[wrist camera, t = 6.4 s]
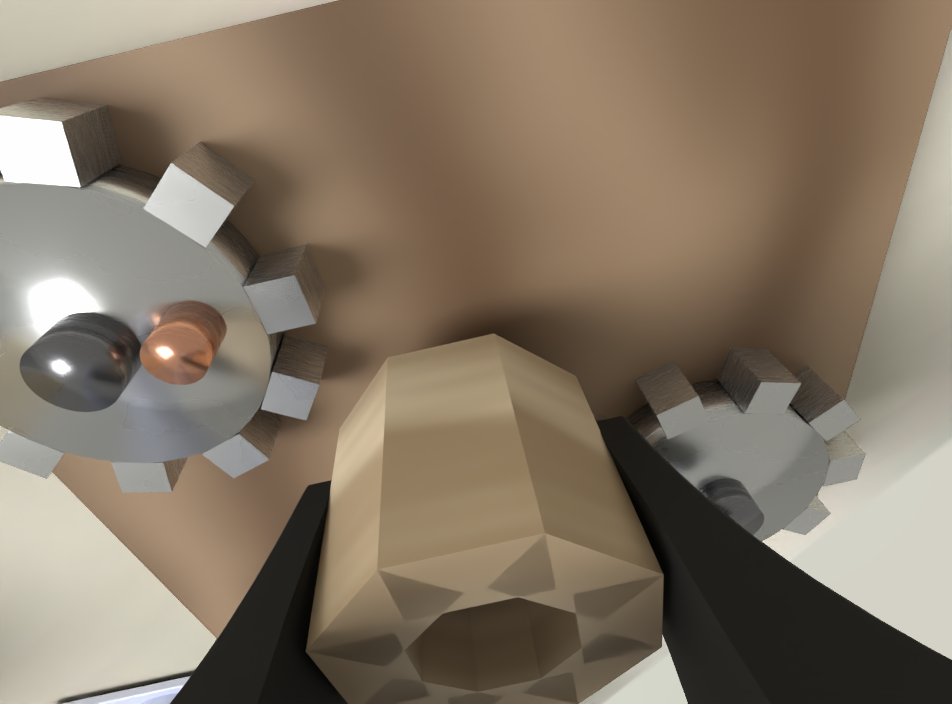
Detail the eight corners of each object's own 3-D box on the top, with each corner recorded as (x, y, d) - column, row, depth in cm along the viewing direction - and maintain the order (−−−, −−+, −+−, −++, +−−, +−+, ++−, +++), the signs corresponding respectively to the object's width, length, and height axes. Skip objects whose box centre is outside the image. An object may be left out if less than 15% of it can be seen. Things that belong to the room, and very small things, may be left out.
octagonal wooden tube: (388, 531, 14) (381, 745, 10) (312, 374, 11) (260, 594, 7) (588, 487, 14) (660, 686, 10) (569, 316, 11) (665, 506, 7)
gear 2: (573, 563, 19) (594, 632, 17) (547, 388, 14) (572, 455, 12) (804, 513, 19) (853, 577, 17) (857, 319, 14) (934, 376, 12)
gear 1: (69, 475, 14) (5, 566, 12) (-234, 163, 9) (-436, 217, 7) (374, 407, 14) (368, 486, 12) (227, 52, 9) (170, 71, 7)
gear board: (233, 605, 21) (190, 757, 16) (-188, 128, 10) (-585, 219, 6) (786, 485, 20) (883, 611, 16) (930, -142, 10) (1307, -237, 6)
